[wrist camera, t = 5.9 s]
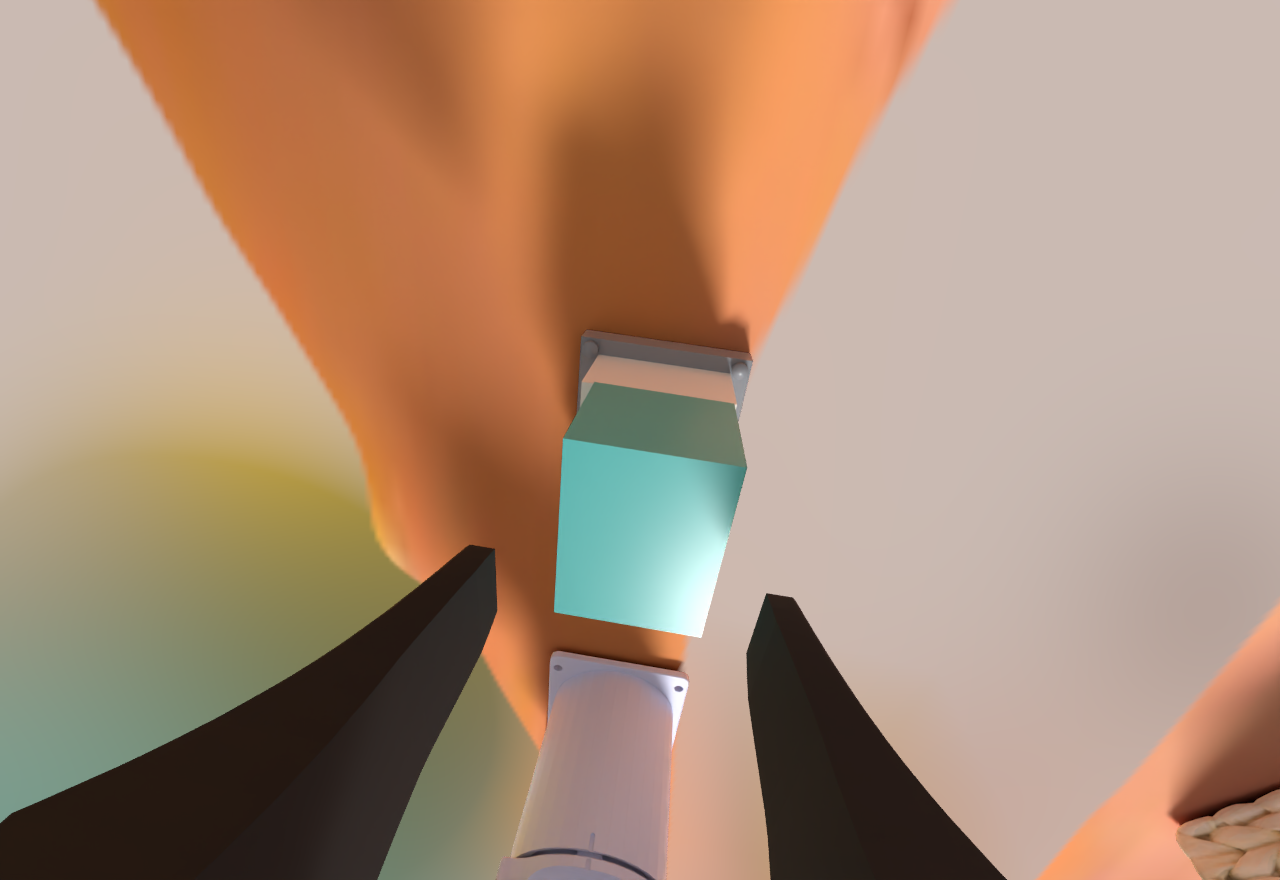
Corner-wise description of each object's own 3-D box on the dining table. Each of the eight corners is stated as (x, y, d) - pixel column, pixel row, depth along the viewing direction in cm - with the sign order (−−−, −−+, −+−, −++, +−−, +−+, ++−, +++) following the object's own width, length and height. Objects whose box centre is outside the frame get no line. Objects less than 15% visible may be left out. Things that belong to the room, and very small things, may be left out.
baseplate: (714, 504, 21) (715, 522, 20) (576, 483, 22) (570, 499, 20) (749, 353, 18) (753, 363, 17) (586, 329, 18) (579, 338, 17)
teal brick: (699, 549, 18) (701, 637, 14) (582, 529, 18) (554, 612, 14) (734, 403, 15) (747, 467, 11) (594, 381, 15) (563, 438, 11)
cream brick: (701, 504, 20) (703, 550, 18) (588, 486, 20) (572, 529, 18) (730, 373, 17) (737, 404, 15) (598, 354, 18) (581, 381, 15)
